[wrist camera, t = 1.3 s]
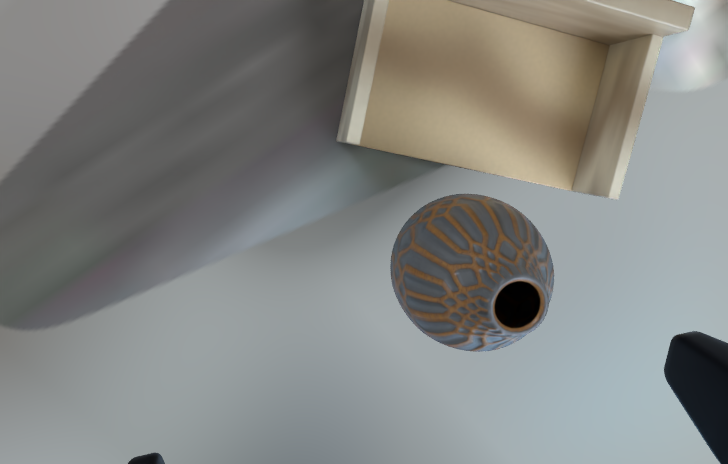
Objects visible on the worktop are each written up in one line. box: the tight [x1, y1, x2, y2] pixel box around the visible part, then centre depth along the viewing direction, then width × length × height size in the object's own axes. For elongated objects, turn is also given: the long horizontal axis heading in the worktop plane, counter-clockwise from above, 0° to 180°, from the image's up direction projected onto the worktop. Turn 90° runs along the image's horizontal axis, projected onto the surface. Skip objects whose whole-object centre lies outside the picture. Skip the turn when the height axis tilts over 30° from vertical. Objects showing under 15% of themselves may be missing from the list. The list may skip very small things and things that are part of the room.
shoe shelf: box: [337, 0, 695, 200], centre depth 24 cm, size 8×13×5 cm, turn 78°
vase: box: [391, 194, 554, 351], centre depth 24 cm, size 7×7×9 cm
